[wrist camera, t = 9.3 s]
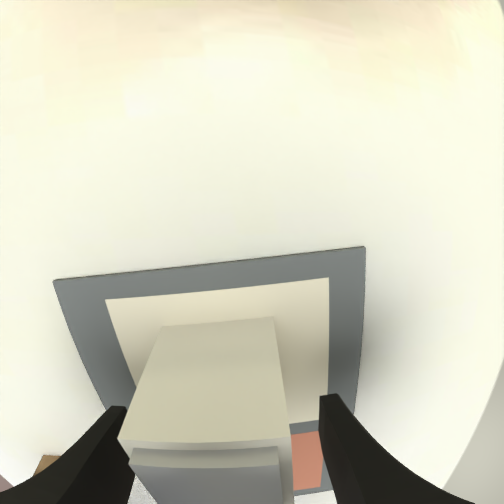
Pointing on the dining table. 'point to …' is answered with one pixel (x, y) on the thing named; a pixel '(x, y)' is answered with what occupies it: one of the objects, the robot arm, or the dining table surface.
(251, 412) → the cream and grey box
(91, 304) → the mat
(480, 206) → the dining table surface
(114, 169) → the dining table surface
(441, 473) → the dining table surface
